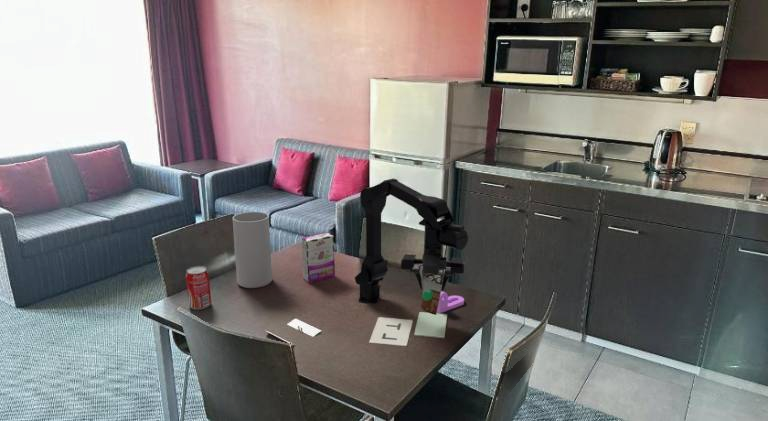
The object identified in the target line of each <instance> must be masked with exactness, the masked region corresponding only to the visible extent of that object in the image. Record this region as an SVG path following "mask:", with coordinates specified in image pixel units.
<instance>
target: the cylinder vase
mask: <svg viewBox="0 0 768 421" xmlns="http://www.w3.org/2000/svg"><path fill="white" fill-rule="evenodd" d="M232 227H233V231H232V232H233V242H234V243H233V244H234V259H235V271H236V272H235V273H236V283H237V285H238V286H240V287H242V288H244V289H245V288H246V289H257V288H258V289H259V288H263V287H265V286H268V285H269V284H271V283H272V281H273V272H272V271H273V270H272V252H271V251H272V250H271V248H272V247H271V232H270V216H269V214H268V213H266V212H262V211H246V212H241V213H236V214H235V215H233V216H232Z"/></svg>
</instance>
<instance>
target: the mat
mask: <svg viewBox="0 0 768 421" xmlns="http://www.w3.org/2000/svg"><path fill="white" fill-rule="evenodd" d="M447 319H448V314H446V313H440V314H439V313H436V315H434V314H431V313H428V312H426V311H424V312H423V311H419V312H418V317H417V321H416V324H415V330H414V333H413V334H414V335H413V336H416V337H427V338H439V339H445V336H446V326H447Z"/></svg>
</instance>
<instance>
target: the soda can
mask: <svg viewBox="0 0 768 421" xmlns="http://www.w3.org/2000/svg"><path fill="white" fill-rule="evenodd" d="M185 282H186V292H187V301H188V306H189V308H190V309H191V310H195V311H200V310H204V309H207V308H209V307H210V306H211V304H212V296H211V286H210V276H209V271H208V269H207V267H205V266H204V265H203V266H202V265H198V266H191V267H189V268H188V269H186V274H185Z"/></svg>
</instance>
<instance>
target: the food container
mask: <svg viewBox="0 0 768 421" xmlns="http://www.w3.org/2000/svg"><path fill="white" fill-rule="evenodd" d="M424 274H425V275H423V276H422V283H423V287H422V295H421V296H422V297H421V302H420V303H421V305H420V308H421V309H422V310H423V311H424V312H425V313H431V314H434V315H436V313H437V308H438V303H439V298H440V293H441V291H442V283H443V278H444V272H442V271H439V273H438V274H432V273H427V274H426V273H424ZM437 314H438V313H437Z"/></svg>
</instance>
